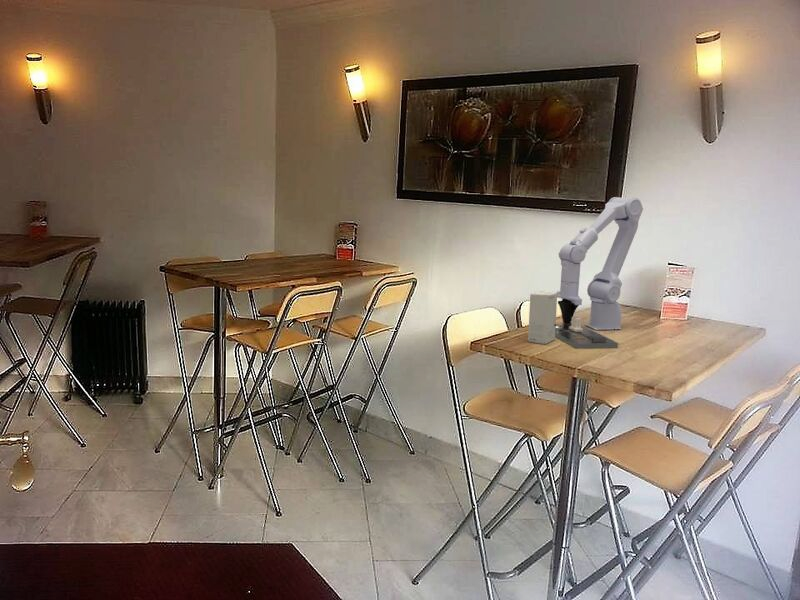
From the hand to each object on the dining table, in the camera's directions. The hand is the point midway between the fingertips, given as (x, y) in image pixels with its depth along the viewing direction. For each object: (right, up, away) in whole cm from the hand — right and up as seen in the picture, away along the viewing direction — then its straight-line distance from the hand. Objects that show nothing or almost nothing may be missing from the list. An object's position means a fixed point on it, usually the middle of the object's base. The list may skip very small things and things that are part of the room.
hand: (566, 322), depth 195 cm
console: (+1, -5, -11) cm, 12 cm away
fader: (+1, -2, -6) cm, 7 cm away
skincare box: (-12, -5, -14) cm, 19 cm away
